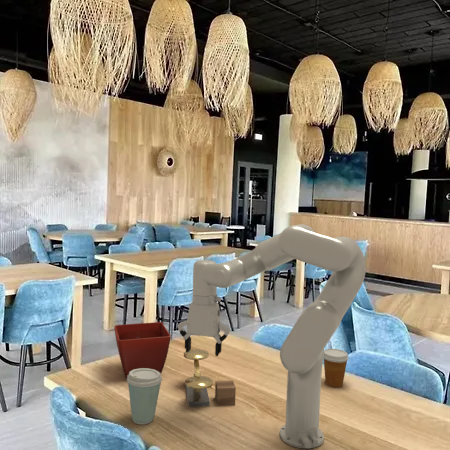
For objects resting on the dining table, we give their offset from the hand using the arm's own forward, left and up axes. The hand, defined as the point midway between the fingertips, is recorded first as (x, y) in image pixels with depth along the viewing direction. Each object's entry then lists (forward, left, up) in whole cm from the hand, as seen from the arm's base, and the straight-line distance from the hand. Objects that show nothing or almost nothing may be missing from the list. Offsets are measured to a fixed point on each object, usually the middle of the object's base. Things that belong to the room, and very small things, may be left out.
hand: (202, 352), depth 141 cm
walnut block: (+6, -9, -19) cm, 22 cm away
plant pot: (+32, +20, -19) cm, 43 cm away
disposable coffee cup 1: (-4, +18, -19) cm, 27 cm away
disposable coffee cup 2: (+17, -52, -19) cm, 58 cm away
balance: (+12, 0, -19) cm, 23 cm away
